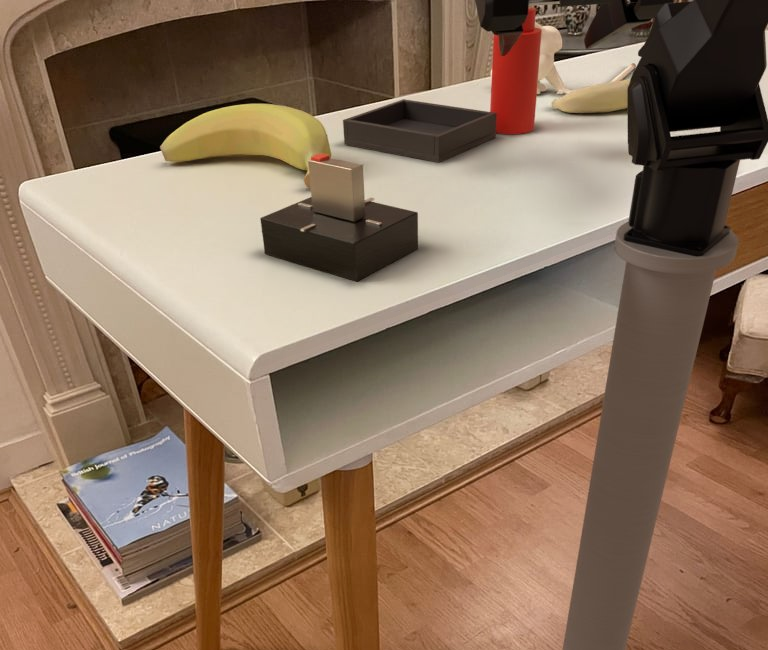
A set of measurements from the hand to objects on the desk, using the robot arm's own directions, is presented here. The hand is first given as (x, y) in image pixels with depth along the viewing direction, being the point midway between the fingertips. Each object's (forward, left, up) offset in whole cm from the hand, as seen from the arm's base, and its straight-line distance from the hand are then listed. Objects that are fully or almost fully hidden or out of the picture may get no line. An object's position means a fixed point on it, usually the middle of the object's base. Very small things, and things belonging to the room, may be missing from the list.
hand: (544, 48), depth 82 cm
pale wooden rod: (+6, -33, -10) cm, 35 cm away
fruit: (+1, -21, -10) cm, 23 cm away
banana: (+20, +23, -10) cm, 32 cm away
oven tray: (+12, +5, -9) cm, 16 cm away
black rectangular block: (-2, +35, -9) cm, 36 cm away
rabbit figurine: (+14, -21, -10) cm, 27 cm away
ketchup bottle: (+6, -5, -9) cm, 12 cm away
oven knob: (-2, +35, -6) cm, 36 cm away
